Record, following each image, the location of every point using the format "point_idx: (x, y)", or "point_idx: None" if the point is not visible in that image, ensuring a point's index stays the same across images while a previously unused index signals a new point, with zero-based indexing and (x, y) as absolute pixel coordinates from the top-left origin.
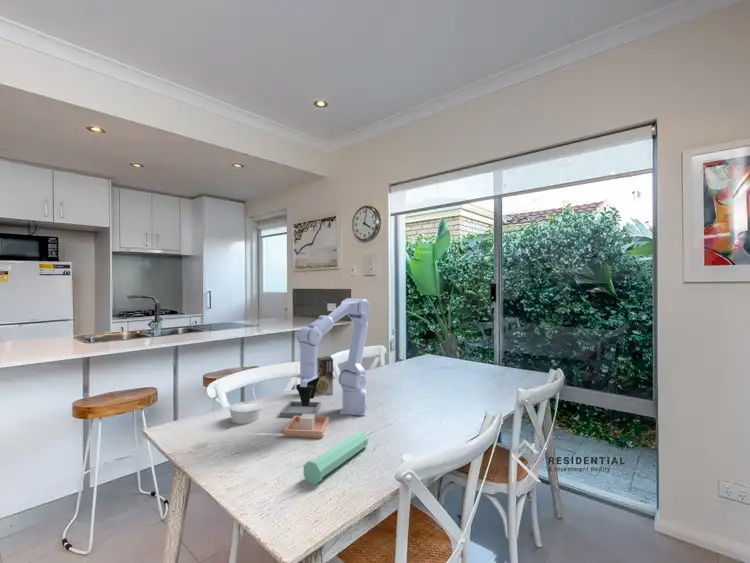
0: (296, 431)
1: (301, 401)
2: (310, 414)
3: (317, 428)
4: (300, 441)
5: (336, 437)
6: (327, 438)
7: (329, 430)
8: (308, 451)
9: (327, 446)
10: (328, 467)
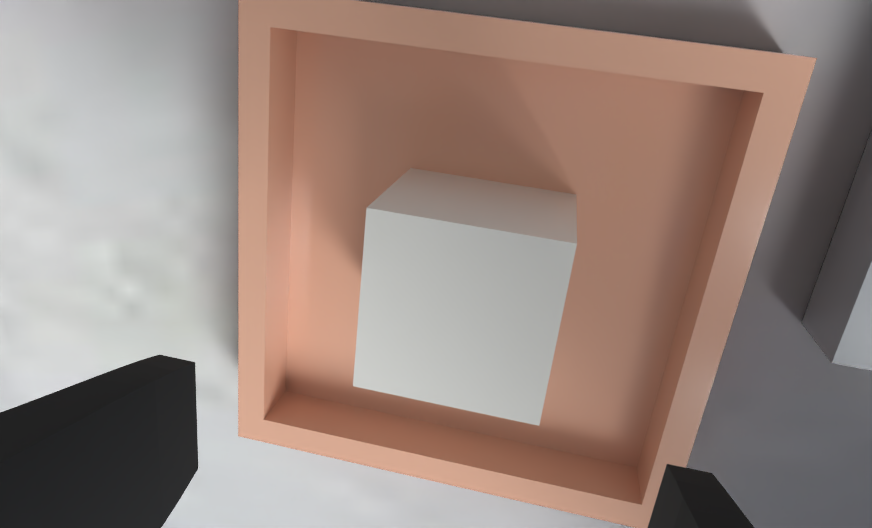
0: (244, 160)
1: (68, 395)
2: (521, 362)
3: None
4: (189, 200)
5: (298, 509)
6: None
7: None
8: (22, 284)
9: None
10: None
